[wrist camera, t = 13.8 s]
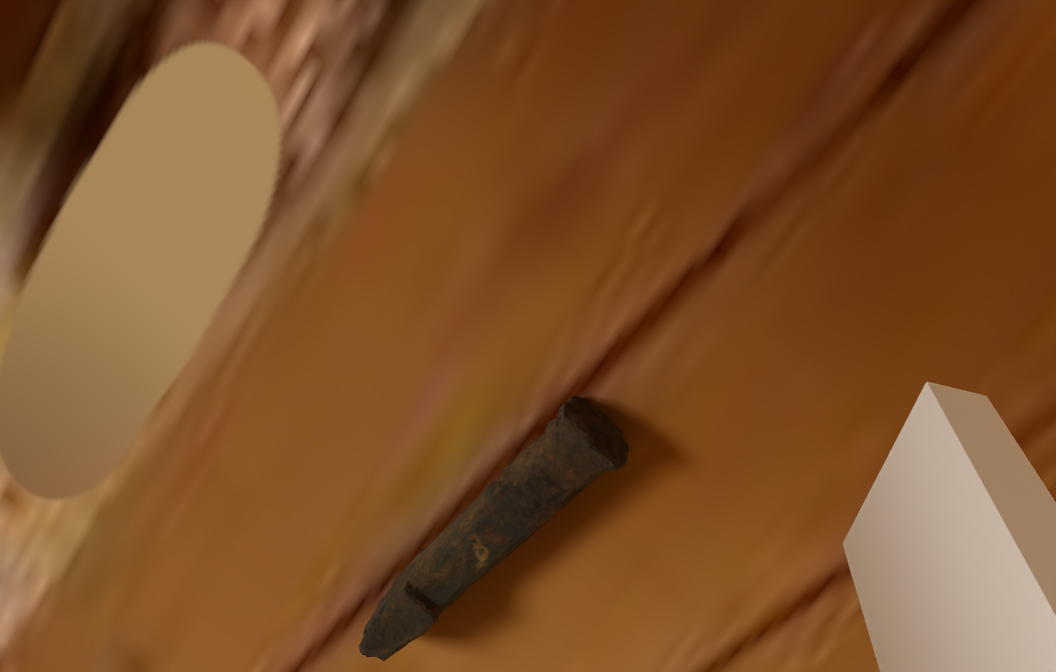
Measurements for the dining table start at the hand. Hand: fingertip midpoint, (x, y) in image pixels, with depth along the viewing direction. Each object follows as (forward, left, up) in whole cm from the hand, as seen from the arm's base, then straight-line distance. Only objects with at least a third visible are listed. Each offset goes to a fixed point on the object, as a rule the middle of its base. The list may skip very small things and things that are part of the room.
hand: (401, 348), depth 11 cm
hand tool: (+3, -22, -29) cm, 36 cm away
